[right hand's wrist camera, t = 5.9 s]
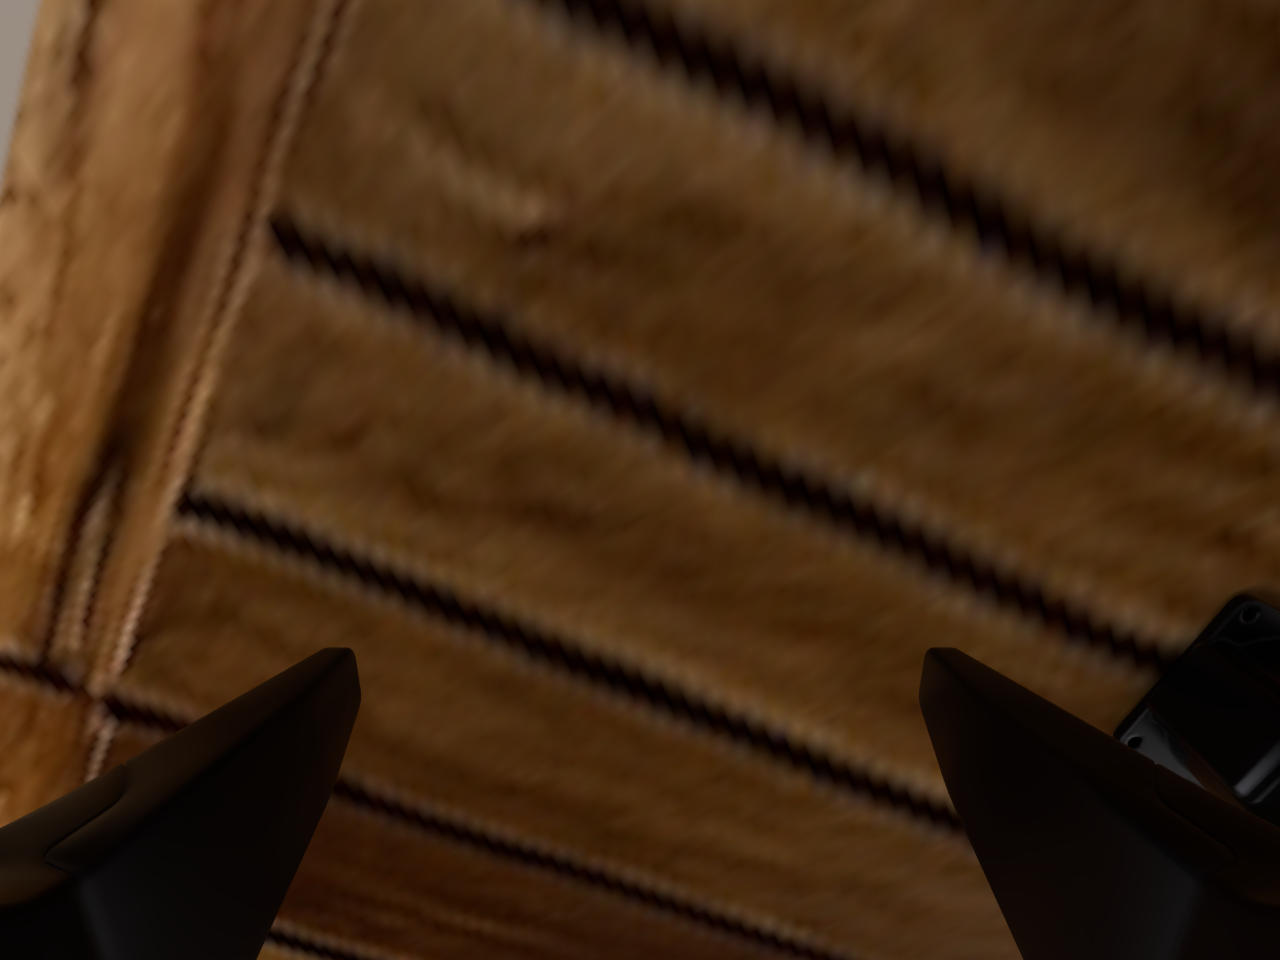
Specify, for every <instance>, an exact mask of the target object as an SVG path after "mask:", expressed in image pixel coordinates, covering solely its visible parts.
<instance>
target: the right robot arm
mask: <svg viewBox="0 0 1280 960" xmlns="http://www.w3.org/2000/svg"><path fill="white" fill-rule="evenodd" d="M1247 609H1248V611H1247V612H1246V613H1244V611H1246V610H1247ZM1243 613H1244V614H1243ZM360 702H361V689H360V683H359V676H358V670H357V664H356V658H355V654H354V652H353V650H351V649H350V648H324V649H322V650H320V651H319V652H317V653H315V654H313V655H311V656H310V657H308V658H306V659H304V660H303V661H301V662H299V663H297V664H296V665H294V666H292V667H290V668H289V669H287V670H285V671H283V672H282V673H280V674H278V675H276V676H274V677H273V678H271V679H269V680H267V681H266V682H264V683H262V684H260V685H259V686H257V687H255V688H253V689H252V690H250V691H248V692H246V693H245V694H243V695H241V696H239V697H238V698H236V699H234V700H232V701H230V702H229V703H227V704H225V705H223V706H222V707H220V708H218V709H216V710H215V711H213V712H211V713H209V714H208V715H206V716H204V717H202V718H201V719H199V720H197V721H195V722H193V723H192V724H190V725H188V726H186V727H185V728H183V729H181V730H179V731H178V732H176V733H174V734H172V735H171V736H169V737H167V738H165V739H164V740H162V741H160V742H158V743H157V744H155V745H153V746H151V747H149V748H148V749H146V750H144V751H142V752H141V753H139V754H137V755H135V756H134V757H132V758H130V759H128V760H127V761H126V762H125V765H124V764H119V765H117V766H116V767H114V768H112V769H111V770H109V771H107V772H105V773H104V774H102V775H100V776H98V777H97V778H95V779H93V780H91V781H89V782H87V783H86V784H84V785H82V786H80V787H78V788H77V789H75V790H73V791H71V792H69V793H67V794H66V795H64V796H62V797H60V798H58V799H56V800H54V801H52V802H51V803H49V804H47V805H45V806H43V807H41V808H39V809H37V810H35V811H33V812H31V813H29V814H27V815H25V816H23V817H21V818H19V819H17V820H15V821H13V822H11V823H9V824H7V825H5V826H3V827H1V828H0V960H256V959H257V957H258V955H259V953H260V951H261V948H262V946H263V944H264V942H265V940H266V937H267V935H268V933H269V931H270V929H271V926H272V924H273V922H274V920H275V918H276V915H277V913H278V911H279V909H280V907H281V904H282V902H283V900H284V898H285V895H286V893H287V891H288V889H289V887H290V884H291V882H292V880H293V878H294V876H295V873H296V871H297V869H298V867H299V865H300V862H301V860H302V858H303V856H304V854H305V851H306V849H307V847H308V845H309V843H310V840H311V838H312V836H313V834H314V832H315V829H316V827H317V825H318V823H319V821H320V818H321V816H322V814H323V812H324V810H325V807H326V805H327V803H328V800H329V798H330V795H331V793H332V790H333V787H334V785H335V782H336V779H337V776H338V773H339V770H340V767H341V763H342V760H343V757H344V754H345V751H346V748H347V745H348V742H349V739H350V735H351V732H352V729H353V726H354V723H355V720H356V717H357V714H358V711H359V707H360ZM919 702H920V707H921V711H922V714H923V717H924V720H925V723H926V726H927V729H928V732H929V735H930V739H931V742H932V745H933V748H934V751H935V754H936V757H937V760H938V763H939V767H940V770H941V773H942V776H943V779H944V782H945V785H946V787H947V790H948V793H949V795H950V798H951V800H952V803H953V805H954V807H955V810H956V812H957V814H958V816H959V818H960V821H961V823H962V825H963V827H964V829H965V832H966V834H967V836H968V838H969V840H970V843H971V845H972V847H973V849H974V851H975V854H976V856H977V858H978V860H979V862H980V865H981V867H982V869H983V871H984V873H985V876H986V878H987V880H988V882H989V884H990V887H991V889H992V891H993V893H994V896H995V898H996V900H997V902H998V904H999V907H1000V909H1001V911H1002V913H1003V915H1004V918H1005V920H1006V922H1007V924H1008V926H1009V929H1010V931H1011V933H1012V935H1013V937H1014V940H1015V942H1016V944H1017V946H1018V948H1019V951H1020V953H1021V955H1022V957H1023V959H1024V960H1280V610H1279V609H1277V608H1275V607H1273V606H1271V605H1269V604H1267V603H1265V602H1263V601H1261V600H1259V599H1257V598H1255V597H1253V596H1251V595H1247V594H1246V595H1239V596H1237V597H1235V598H1233V599H1232V600H1231V601H1230V602H1228V604H1227V605H1226V606H1225V607H1224V608H1223V609H1222V610H1221V612H1220V613H1219V614H1218V615H1217V616H1216V617H1215V618H1214V619H1213V621H1212V622H1211V623H1210V624H1209V625H1208V626H1207V627H1206V628H1205V630H1204V631H1203V632H1202V633H1201V634H1200V635H1199V636H1198V637H1197V639H1196V640H1195V641H1194V642H1193V643H1192V644H1191V645H1190V647H1189V648H1188V649H1187V650H1186V651H1185V652H1184V653H1183V654H1182V656H1181V657H1180V658H1179V659H1178V660H1177V661H1176V662H1175V663H1174V665H1173V666H1172V667H1171V668H1170V669H1169V670H1168V671H1167V672H1166V674H1165V675H1164V676H1163V677H1162V678H1161V679H1160V680H1159V681H1158V683H1157V684H1156V685H1155V686H1154V687H1153V688H1152V689H1151V691H1150V692H1149V693H1148V694H1147V695H1146V696H1145V697H1144V698H1143V700H1142V701H1141V702H1140V703H1139V704H1138V705H1137V706H1136V707H1135V709H1134V710H1133V711H1132V712H1131V713H1130V714H1129V715H1128V716H1127V718H1126V719H1125V720H1124V721H1123V722H1122V723H1121V724H1120V726H1119V727H1118V728H1117V729H1116V730H1115V732H1114V734H1113V737H1111V736H1109V735H1108V734H1106V733H1104V732H1102V731H1101V730H1099V729H1097V728H1095V727H1094V726H1092V725H1090V724H1088V723H1087V722H1085V721H1083V720H1081V719H1079V718H1078V717H1076V716H1074V715H1072V714H1071V713H1069V712H1067V711H1065V710H1064V709H1062V708H1060V707H1058V706H1057V705H1055V704H1053V703H1051V702H1050V701H1048V700H1046V699H1044V698H1042V697H1041V696H1039V695H1037V694H1035V693H1034V692H1032V691H1030V690H1028V689H1027V688H1025V687H1023V686H1021V685H1020V684H1018V683H1016V682H1014V681H1013V680H1011V679H1009V678H1007V677H1005V676H1004V675H1002V674H1000V673H998V672H997V671H995V670H993V669H991V668H990V667H988V666H986V665H984V664H983V663H981V662H979V661H977V660H976V659H974V658H972V657H970V656H969V655H967V654H965V653H963V652H961V651H960V650H958V649H956V648H930V649H929V650H927V652H926V654H925V658H924V664H923V670H922V676H921V683H920V689H919ZM1132 737H1134V738H1132ZM1131 738H1132V739H1131ZM1129 739H1131V740H1129ZM1203 788H1204V789H1203ZM1205 789H1206V790H1205Z"/></svg>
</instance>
